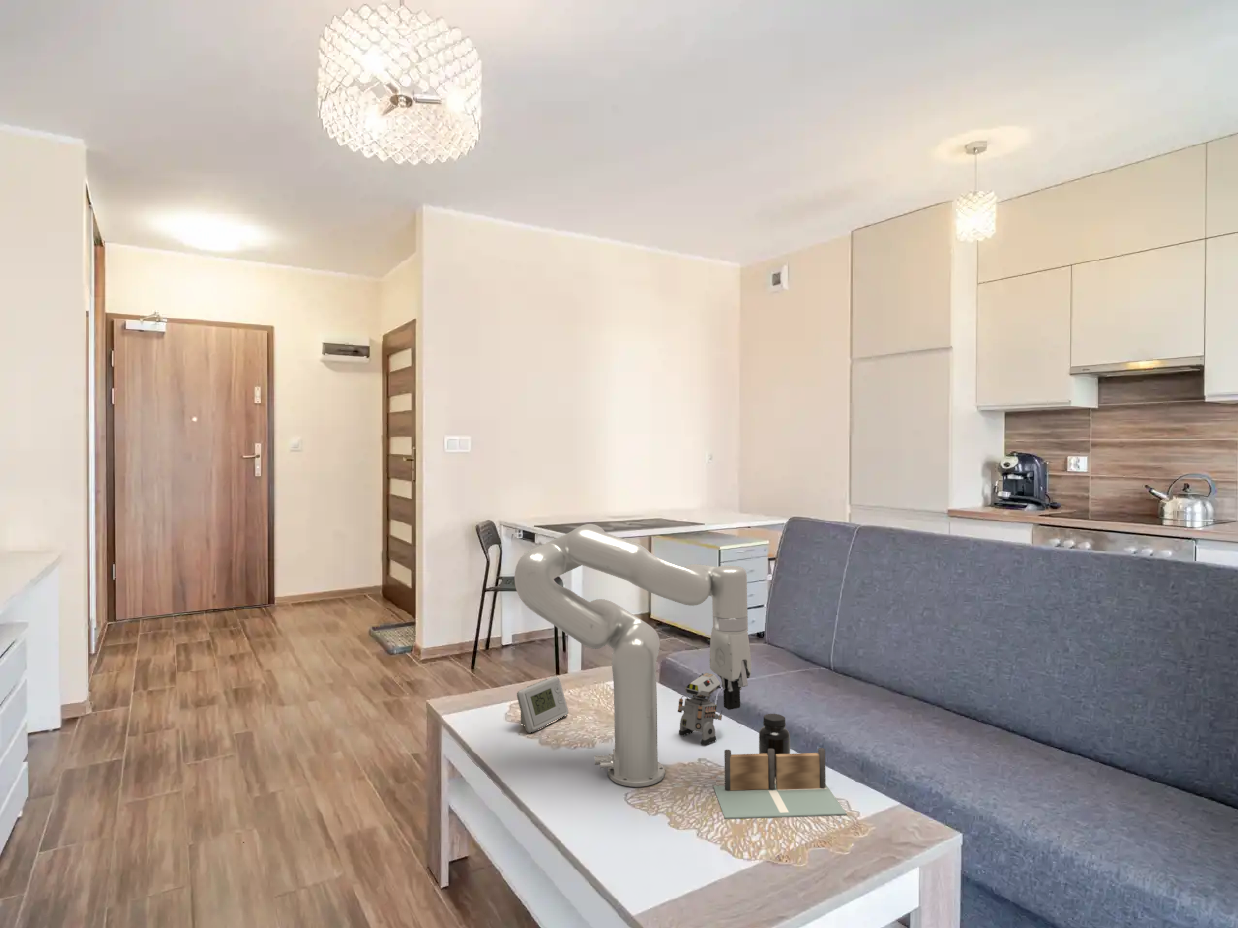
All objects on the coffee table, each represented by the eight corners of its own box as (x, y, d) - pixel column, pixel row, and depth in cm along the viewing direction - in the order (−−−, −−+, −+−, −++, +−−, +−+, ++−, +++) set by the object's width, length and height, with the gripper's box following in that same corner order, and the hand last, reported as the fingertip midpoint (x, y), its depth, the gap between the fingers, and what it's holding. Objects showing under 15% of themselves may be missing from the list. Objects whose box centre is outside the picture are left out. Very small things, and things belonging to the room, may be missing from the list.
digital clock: (527, 736, 176) (527, 694, 176) (507, 726, 182) (507, 686, 182) (576, 719, 187) (576, 680, 187) (556, 710, 193) (555, 673, 193)
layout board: (724, 818, 134) (724, 817, 134) (713, 787, 147) (713, 785, 147) (846, 814, 135) (846, 813, 135) (824, 783, 148) (824, 782, 148)
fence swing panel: (725, 790, 144) (725, 752, 144) (724, 787, 146) (723, 749, 146) (775, 789, 145) (775, 751, 145) (773, 785, 146) (773, 748, 146)
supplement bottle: (791, 778, 151) (790, 723, 150) (759, 776, 152) (758, 721, 152) (789, 765, 157) (789, 712, 157) (759, 762, 159) (758, 710, 159)
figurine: (731, 735, 174) (731, 676, 174) (700, 748, 167) (699, 686, 167) (705, 725, 181) (704, 668, 181) (673, 737, 174) (673, 677, 174)
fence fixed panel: (777, 789, 145) (777, 751, 145) (775, 786, 146) (775, 749, 146) (826, 788, 145) (826, 750, 145) (824, 785, 147) (823, 747, 147)
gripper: (697, 618, 155) (699, 699, 155) (734, 633, 142) (736, 722, 142) (725, 614, 158) (727, 694, 158) (765, 628, 145) (766, 715, 145)
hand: (732, 707), depth 150 cm, fingers closed
